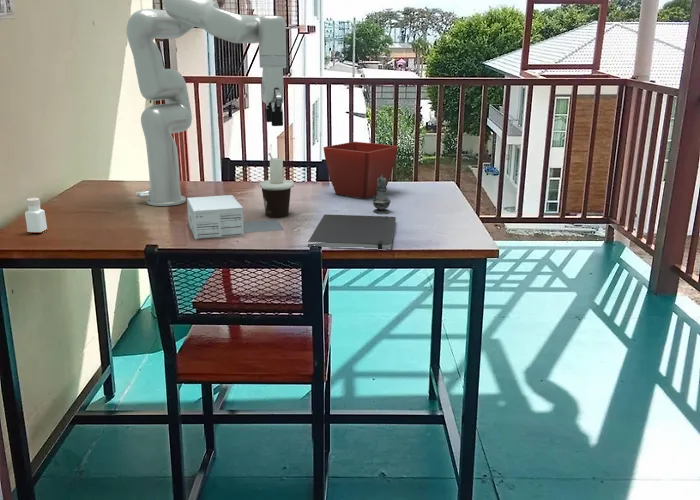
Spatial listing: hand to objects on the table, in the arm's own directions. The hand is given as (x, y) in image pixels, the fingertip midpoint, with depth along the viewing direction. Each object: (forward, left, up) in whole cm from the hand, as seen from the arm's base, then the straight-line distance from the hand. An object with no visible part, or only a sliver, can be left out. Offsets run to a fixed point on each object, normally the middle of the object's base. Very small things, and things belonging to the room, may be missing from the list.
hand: (274, 123), depth 187 cm
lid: (0, 0, -18) cm, 18 cm away
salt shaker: (-67, +2, -29) cm, 73 cm away
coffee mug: (0, 0, -29) cm, 29 cm away
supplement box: (-19, -13, -29) cm, 37 cm away
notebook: (+18, -22, -29) cm, 41 cm away
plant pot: (+34, +26, -29) cm, 51 cm away
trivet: (-7, -13, -28) cm, 32 cm away
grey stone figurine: (+33, 0, -29) cm, 44 cm away
